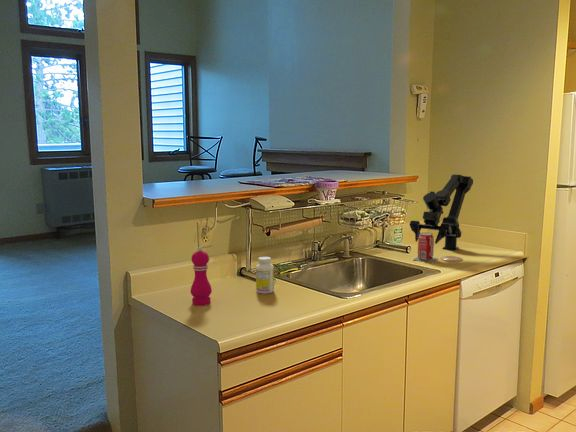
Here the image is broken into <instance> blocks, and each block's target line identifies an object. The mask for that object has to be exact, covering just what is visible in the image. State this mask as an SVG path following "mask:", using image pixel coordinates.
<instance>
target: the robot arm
mask: <svg viewBox="0 0 576 432" xmlns="http://www.w3.org/2000/svg"><path fill="white" fill-rule="evenodd" d="M473 184H474V180H473V177H472V176H468V175H467V176H466V175H465V176H464V175H462V174H457V173H456V174H452V175H451V176H450V179H448V181H447V182H446V184H445V185H444V187H443V188H442V189H441V190H439V191H431V190H430V191H429V192H428V193H426V194H424V195H423V198H422V200H423V202H424V204H425V206H426V208H427V209H428V210H429V211H423V212H422V213H423V214H422V219H423V223H420V221H419V220H410V222H409V225H408V226H409V227H410V229H411V231H412V232H413V233H414V236H415V239H414V240H415V242H416V243H418V237H419V235H420V233H421V229H422V230H423V229H424V230H426V229H427V230H430V231H438V233H437V235H436V238H435V239H434V245H436V244H438V243H439V242H440V241H441V240H442V239H444V246H443V247H442V249H443V250H444V249H445V250H450V251H451V250H452V251H457V250H458V249H459V248H460V247H459V246H457V245H458V244H457V242H458V239H460V238H461V237H462V231H461V228H460V222H459V220H458V219H459V217H460V213H461V209H462V207H463V204H464V203H463V202H464V200H465V196H466V194H467V193H468V192H470V190H471V188H472V186H473ZM454 192H455V193H454ZM453 193H454V196H453V199H452V200H451V197H452V194H453ZM451 201H452V202H451ZM450 202H451V206H450V209H449V212H448V216H446V217H445V216H444V217H443V218H442V222H441V221H440V220H441V216H442V214H444V210H443V209H444V208H443V207H447V206H448V205H449V204H450ZM440 223H441V224H440ZM439 224H440V225H439Z"/></svg>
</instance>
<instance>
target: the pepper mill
mask: <svg viewBox="0 0 576 432" xmlns="http://www.w3.org/2000/svg"><path fill="white" fill-rule="evenodd" d="M209 261H210V257H209V254H208V253H207V251H204V250H203V247H202V246H198V247H197V251H195V252H194V253H192V255H191V262H192V264H193V266H192V267H193V268H192V270H193V271H194V278H193V282H192V283H191V286H190V294H191V296H192V301H191V302H192V304H193V305H194V306H199V307H200V306H201V307H202V306H207V305H210V304H211V297H210V295H211V294H212V293H213V292H212V291H213V290H212V285H211V283H210V280H209V279H208V276H207V275H208V274H207V270H208V269H209V266H208V263H209Z"/></svg>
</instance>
